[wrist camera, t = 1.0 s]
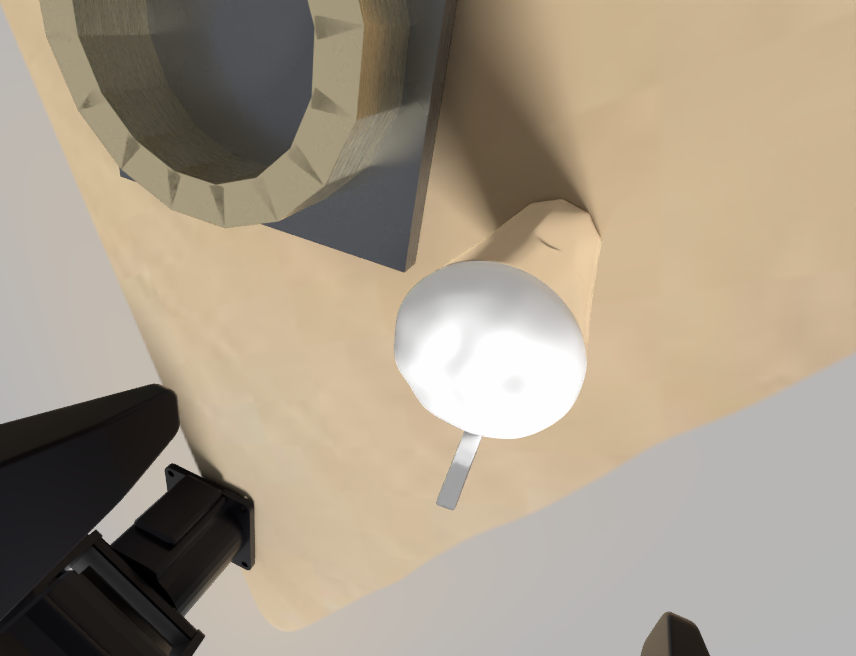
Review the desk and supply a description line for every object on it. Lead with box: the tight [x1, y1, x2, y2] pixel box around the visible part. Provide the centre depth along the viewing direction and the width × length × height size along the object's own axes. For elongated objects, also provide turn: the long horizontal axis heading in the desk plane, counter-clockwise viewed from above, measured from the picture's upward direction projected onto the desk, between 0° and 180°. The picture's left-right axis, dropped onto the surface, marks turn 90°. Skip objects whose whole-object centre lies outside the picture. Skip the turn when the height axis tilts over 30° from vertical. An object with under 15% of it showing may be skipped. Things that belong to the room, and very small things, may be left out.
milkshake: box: [394, 199, 602, 510], centre depth 16 cm, size 4×5×10 cm
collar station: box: [39, 0, 457, 273], centre depth 18 cm, size 14×14×4 cm
